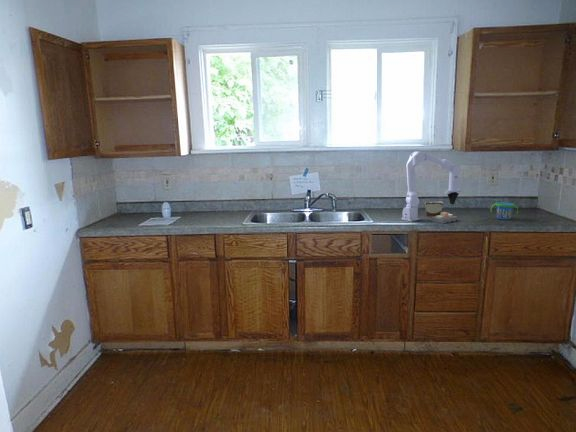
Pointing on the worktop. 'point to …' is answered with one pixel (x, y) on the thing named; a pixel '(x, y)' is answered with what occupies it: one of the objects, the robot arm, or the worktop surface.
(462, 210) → the worktop surface
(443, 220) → the key console
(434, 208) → the half round cake
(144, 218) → the worktop surface
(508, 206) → the snack cup
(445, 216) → the key terracotta
